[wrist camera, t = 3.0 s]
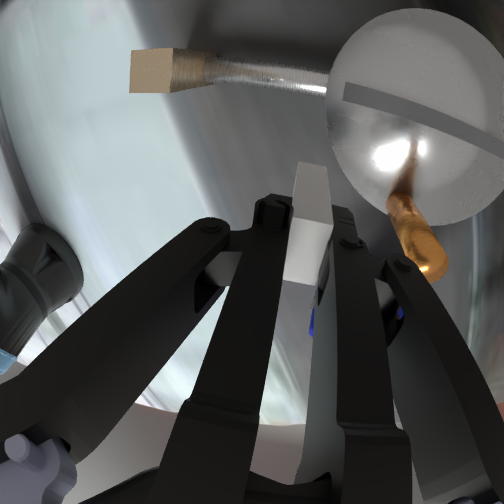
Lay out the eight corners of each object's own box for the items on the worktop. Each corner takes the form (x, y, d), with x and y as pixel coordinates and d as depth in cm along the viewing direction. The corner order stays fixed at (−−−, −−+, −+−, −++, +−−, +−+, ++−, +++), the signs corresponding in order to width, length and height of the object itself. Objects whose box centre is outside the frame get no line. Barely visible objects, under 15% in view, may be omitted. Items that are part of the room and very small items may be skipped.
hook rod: (183, 82, 26) (129, 92, 18) (185, 52, 24) (131, 50, 16) (435, 132, 24) (483, 163, 16) (442, 102, 22) (494, 122, 14)
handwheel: (305, 192, 21) (301, 260, 14) (341, -17, 12) (360, -68, 5) (478, 236, 19) (522, 304, 13) (529, 67, 11) (602, 85, 4)
